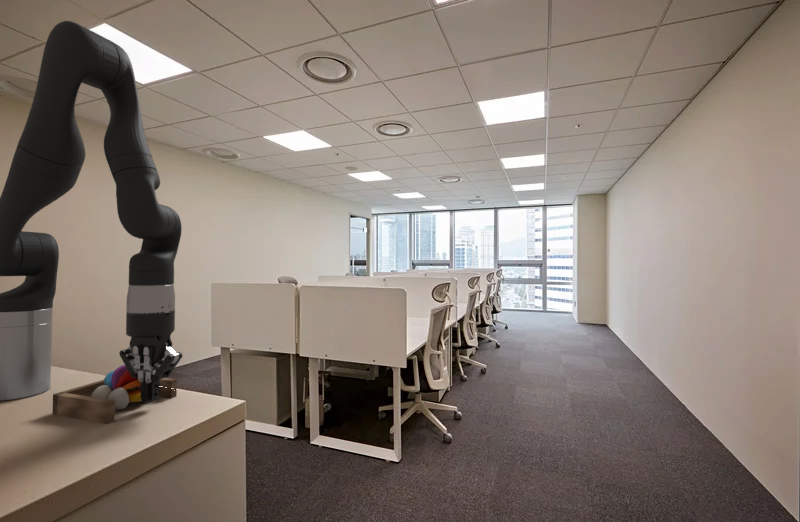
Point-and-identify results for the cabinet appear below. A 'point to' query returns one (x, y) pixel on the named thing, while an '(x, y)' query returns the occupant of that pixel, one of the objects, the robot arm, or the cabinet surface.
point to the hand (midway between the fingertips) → (149, 401)
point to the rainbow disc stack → (119, 388)
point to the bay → (97, 402)
